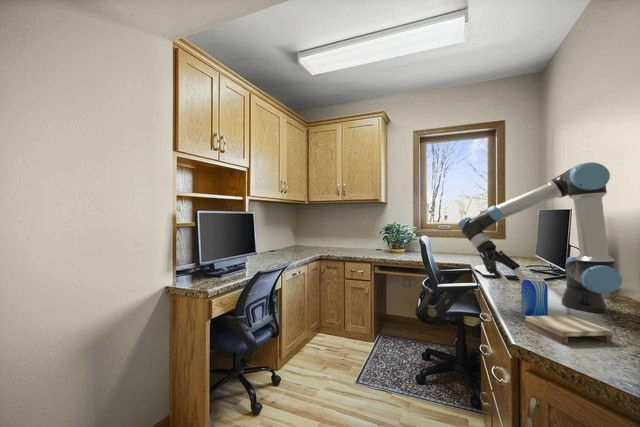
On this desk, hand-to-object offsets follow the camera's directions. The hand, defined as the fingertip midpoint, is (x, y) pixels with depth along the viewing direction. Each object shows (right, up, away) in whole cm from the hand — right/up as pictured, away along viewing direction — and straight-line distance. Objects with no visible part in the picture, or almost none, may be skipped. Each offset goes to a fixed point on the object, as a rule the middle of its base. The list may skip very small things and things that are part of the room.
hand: (517, 283), depth 116 cm
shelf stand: (+2, -13, -21) cm, 24 cm away
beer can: (+3, -13, -5) cm, 15 cm away
